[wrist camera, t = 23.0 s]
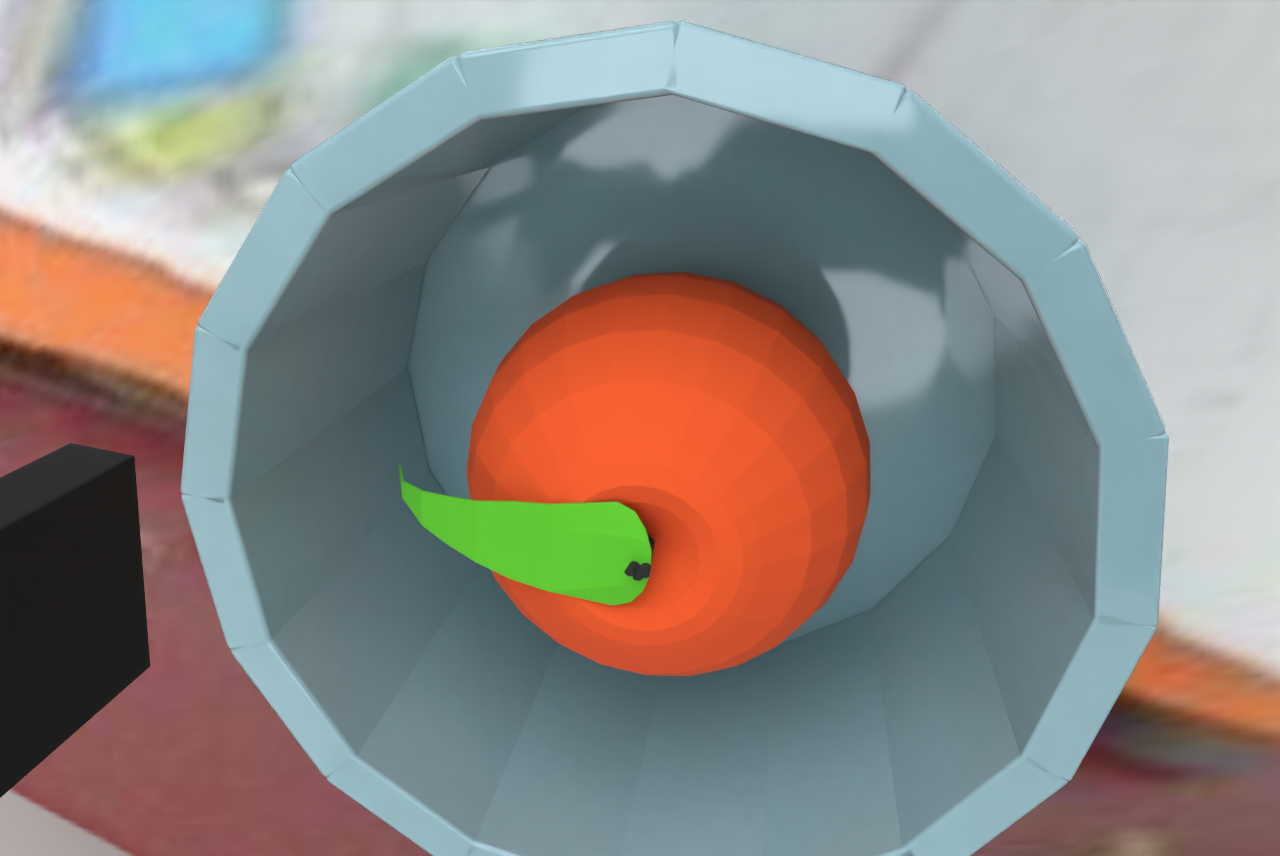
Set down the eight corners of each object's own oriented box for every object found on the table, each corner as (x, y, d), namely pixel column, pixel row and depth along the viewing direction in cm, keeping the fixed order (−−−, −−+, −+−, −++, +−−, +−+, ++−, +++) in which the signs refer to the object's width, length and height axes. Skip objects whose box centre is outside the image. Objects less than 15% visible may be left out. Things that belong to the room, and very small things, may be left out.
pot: (1034, -5, 17) (1199, -59, 10) (1030, 659, 21) (1140, 944, 14) (323, 96, 19) (58, 111, 12) (452, 670, 24) (309, 917, 17)
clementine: (481, 533, 22) (342, 733, 15) (475, 224, 19) (308, 304, 13) (839, 573, 21) (857, 807, 14) (881, 252, 18) (927, 354, 12)
